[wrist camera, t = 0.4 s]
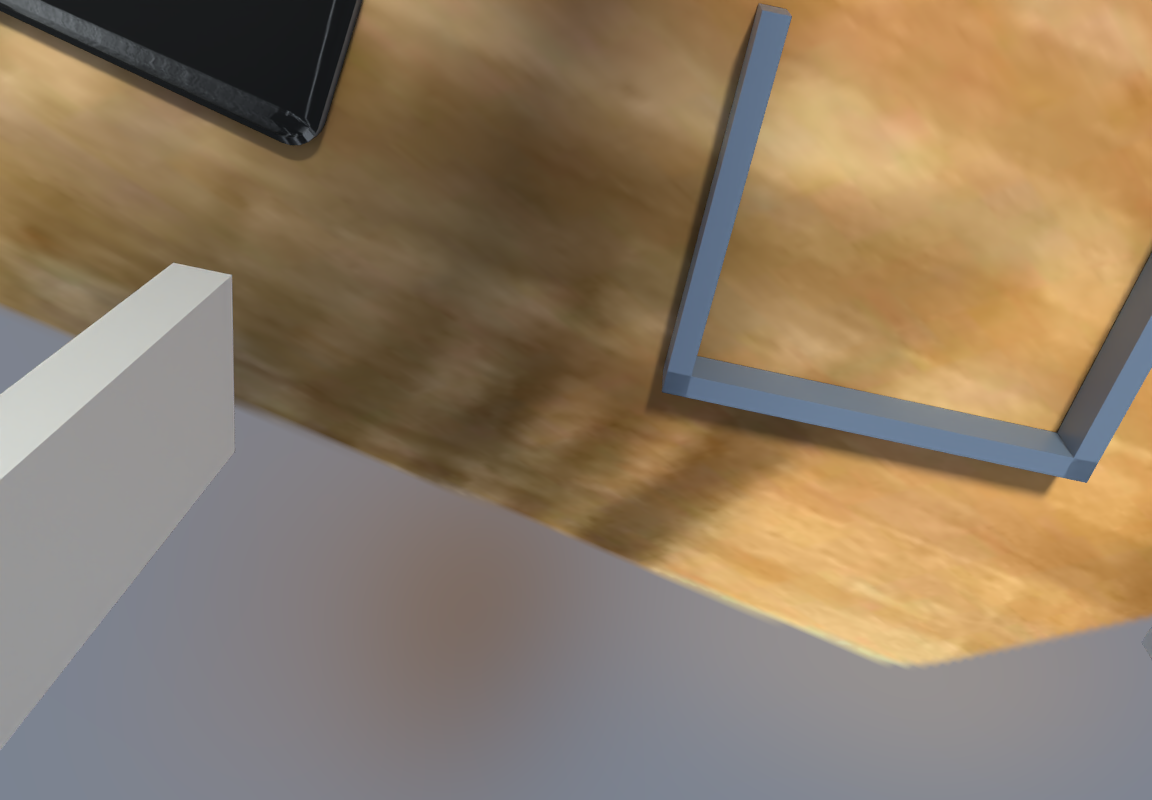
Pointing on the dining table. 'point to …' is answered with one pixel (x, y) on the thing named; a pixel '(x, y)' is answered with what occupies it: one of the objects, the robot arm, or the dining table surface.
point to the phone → (218, 51)
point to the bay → (1132, 348)
